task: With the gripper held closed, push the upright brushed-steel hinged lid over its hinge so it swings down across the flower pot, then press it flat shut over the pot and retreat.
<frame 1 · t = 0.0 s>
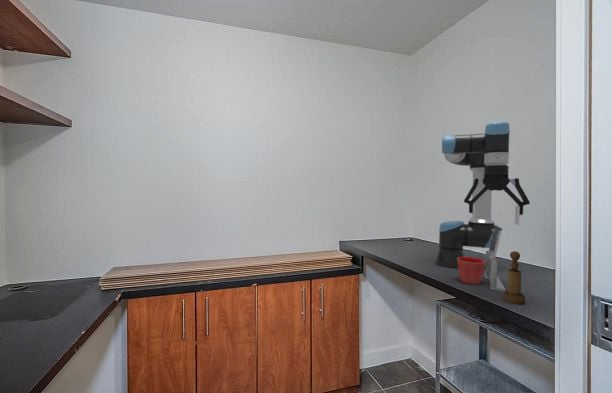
hand: (494, 223, 109), 28 cm above the worktop, fingers open, 13 cm apart
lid: (495, 242, 126), point 18 cm above the worktop, hinge at 100.0°
mortar and pestle: (513, 301, 107), on the worktop
hinge bracket: (490, 283, 127), on the worktop
flower pot: (470, 281, 130), on the worktop
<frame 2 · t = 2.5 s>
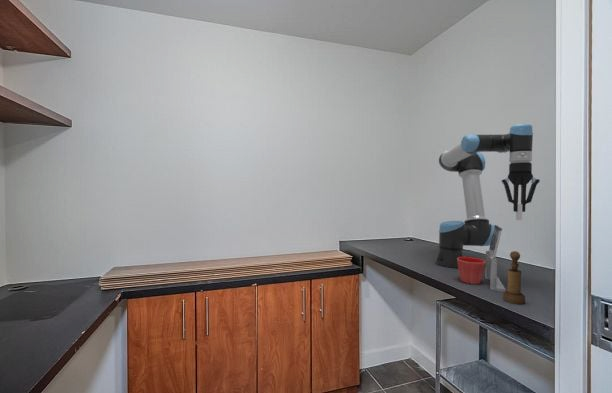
hand: (519, 219, 122), 28 cm above the worktop, fingers closed
nothing on the worktop moved.
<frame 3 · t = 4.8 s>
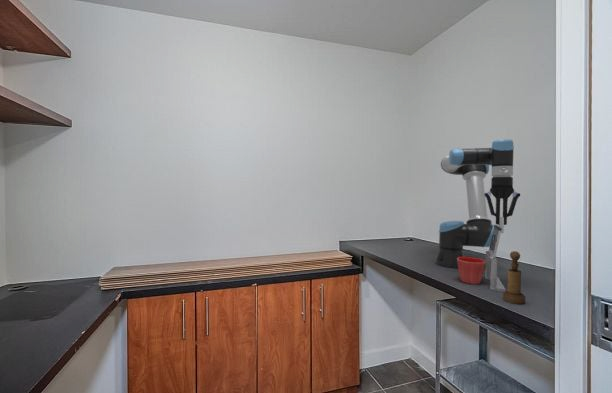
hand: (500, 232, 125), 22 cm above the worktop, fingers closed
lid: (495, 242, 126), point 18 cm above the worktop, hinge at 99.4°, touching gripper
everything else where it was.
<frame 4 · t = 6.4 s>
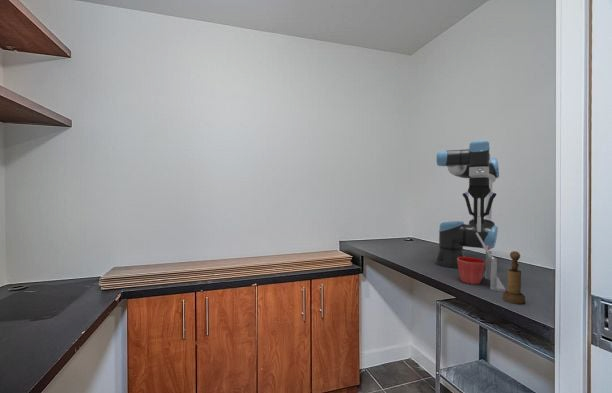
hand: (478, 231, 128), 22 cm above the worktop, fingers closed
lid: (483, 243, 128), point 17 cm above the worktop, hinge at 60.3°, touching gripper
everything else where it was.
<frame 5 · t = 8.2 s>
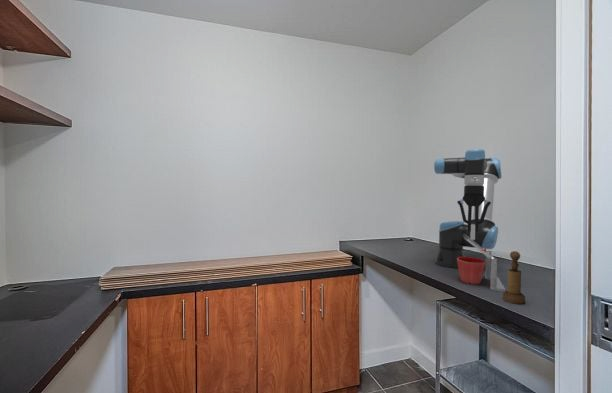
hand: (472, 239, 129), 19 cm above the worktop, fingers closed
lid: (478, 246, 128), point 16 cm above the worktop, hinge at 38.9°, touching gripper
everything else where it was.
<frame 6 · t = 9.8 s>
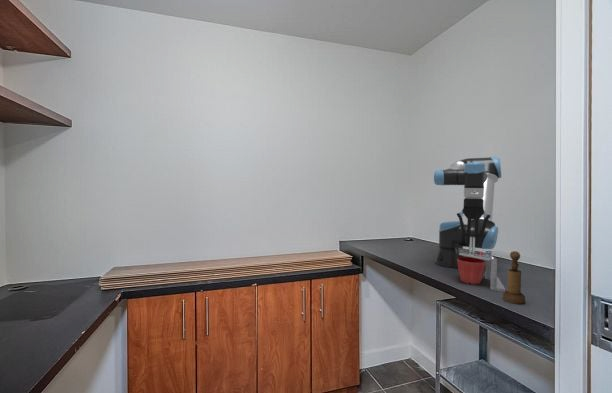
hand: (471, 251, 129), 13 cm above the worktop, fingers closed
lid: (474, 253, 129), point 12 cm above the worktop, hinge at 6.6°, touching gripper
everything else where it was.
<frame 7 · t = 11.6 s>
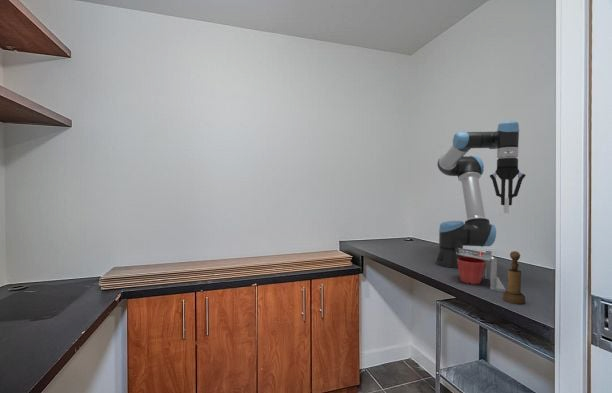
hand: (506, 212, 128), 30 cm above the worktop, fingers closed
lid: (474, 253, 129), point 12 cm above the worktop, hinge at 6.6°
everything else where it was.
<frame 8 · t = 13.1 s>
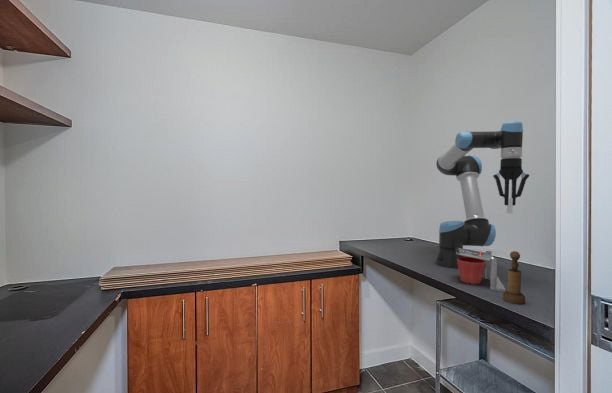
hand: (509, 213, 128), 30 cm above the worktop, fingers closed
nothing on the worktop moved.
at the end: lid at +7° (first picture: +100°); flower pot moved 0.2 cm from its start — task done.
